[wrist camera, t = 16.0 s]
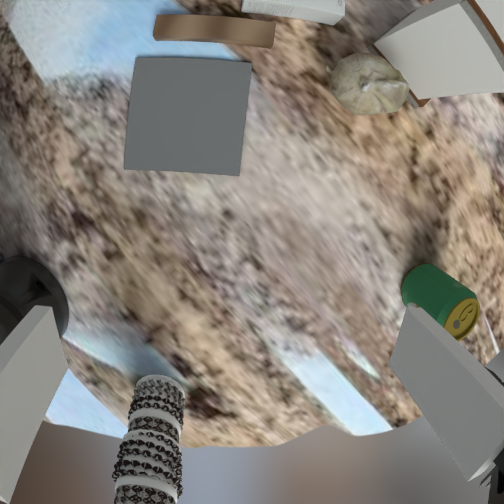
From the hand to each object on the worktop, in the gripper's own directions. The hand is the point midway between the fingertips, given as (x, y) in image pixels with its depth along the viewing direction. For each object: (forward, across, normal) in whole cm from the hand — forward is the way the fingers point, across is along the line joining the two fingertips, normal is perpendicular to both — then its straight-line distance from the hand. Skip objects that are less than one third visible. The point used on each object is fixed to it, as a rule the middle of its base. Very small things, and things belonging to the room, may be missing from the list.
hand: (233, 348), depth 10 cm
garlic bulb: (+29, +16, +15) cm, 37 cm away
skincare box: (+27, +1, +27) cm, 38 cm away
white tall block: (+29, +26, +23) cm, 45 cm away
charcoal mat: (+29, -4, +10) cm, 31 cm away
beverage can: (+29, +32, -12) cm, 44 cm away
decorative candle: (+29, -9, -31) cm, 44 cm away
